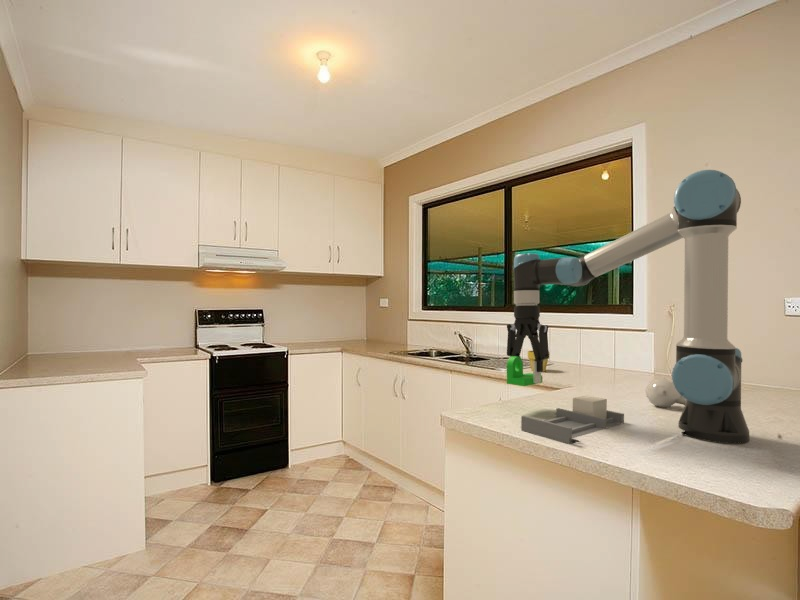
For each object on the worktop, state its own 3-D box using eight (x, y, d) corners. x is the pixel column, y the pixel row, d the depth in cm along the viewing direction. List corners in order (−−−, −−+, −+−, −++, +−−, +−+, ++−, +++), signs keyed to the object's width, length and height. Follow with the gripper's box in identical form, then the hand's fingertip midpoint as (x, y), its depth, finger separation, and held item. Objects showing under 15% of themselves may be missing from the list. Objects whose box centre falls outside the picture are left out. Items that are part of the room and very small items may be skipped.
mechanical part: (524, 386, 131) (524, 358, 131) (506, 383, 136) (506, 356, 136) (546, 381, 139) (546, 355, 139) (528, 379, 144) (528, 354, 144)
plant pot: (527, 371, 223) (527, 351, 223) (527, 369, 233) (527, 349, 233) (549, 373, 220) (549, 352, 220) (548, 370, 230) (549, 350, 230)
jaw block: (606, 420, 126) (606, 398, 126) (592, 424, 122) (593, 401, 122) (586, 416, 131) (586, 395, 131) (572, 419, 127) (572, 398, 127)
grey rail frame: (623, 427, 124) (624, 413, 124) (569, 444, 108) (569, 428, 108) (576, 416, 135) (577, 404, 135) (521, 430, 119) (521, 416, 120)
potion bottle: (643, 408, 154) (695, 420, 146) (643, 395, 147) (697, 407, 139) (647, 384, 158) (699, 394, 150) (648, 370, 151) (701, 380, 143)
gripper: (562, 304, 133) (563, 384, 132) (509, 305, 148) (510, 376, 148) (546, 304, 128) (547, 386, 128) (493, 305, 144) (494, 378, 143)
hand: (527, 381), depth 138 cm, fingers closed on mechanical part, 6 cm apart
